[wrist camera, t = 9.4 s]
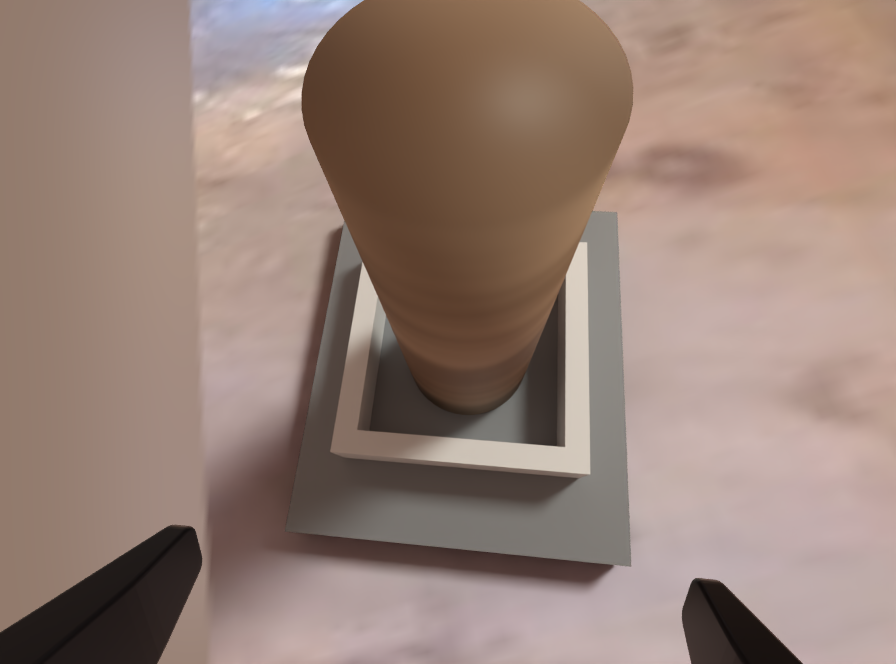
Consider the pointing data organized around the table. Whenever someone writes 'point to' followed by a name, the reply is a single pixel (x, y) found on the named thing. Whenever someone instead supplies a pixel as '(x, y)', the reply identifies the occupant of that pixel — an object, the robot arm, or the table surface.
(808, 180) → the table surface
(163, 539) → the robot arm
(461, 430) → the grey framed base plate
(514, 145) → the walnut post
